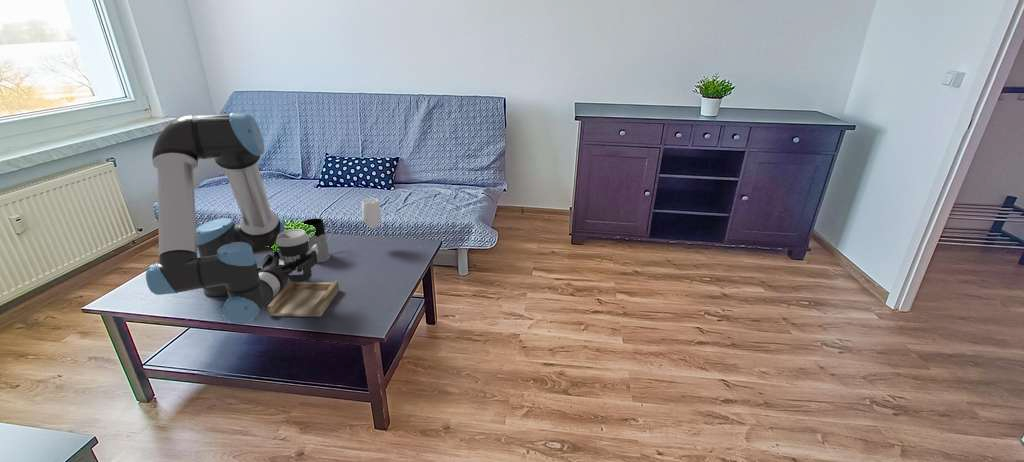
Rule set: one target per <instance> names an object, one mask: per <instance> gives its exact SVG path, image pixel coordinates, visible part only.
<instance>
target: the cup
mask: <svg viewBox="0 0 1024 462" xmlns="http://www.w3.org/2000/svg"><path fill="white" fill-rule="evenodd" d="M361 215H362V219H363V222H364V224H365V226H366V227H368V228H370V229H371V230H374V229H376V228H378V226H380V224H381V221H382V210H381V205H380V201H379V199H378V198H373V197H371V198H365V199H363V200H362V201H361Z"/></svg>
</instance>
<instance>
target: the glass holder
mask: <svg viewBox="0 0 1024 462" xmlns="http://www.w3.org/2000/svg"><path fill="white" fill-rule="evenodd" d="M328 220H330V223H331V228H330V229H331V230H330V234H329V237H328V239H327V235H326V230H327V228H326V222H327V221H328ZM302 223H304V224H308V225H313V226H314V227H315V228H316V232H315V234H314V235H313V237H312V238H311V239H310V241H309V250H310V249H311V248H312V247H313V246H314V245H315V244H317V247H318V253H317V262H318V263H323V262H325V261H327V260H329V259H330V258H331V254H330V251H329V246H328V244H329V242H330V240H331V238H332V236H333V232H334V222H333V219H332V218H330V217H326V218H325V219H324V220H323V219H321V218H309V219H306V220H304V221H302V222H301V224H302Z"/></svg>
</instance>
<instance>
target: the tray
mask: <svg viewBox="0 0 1024 462" xmlns="http://www.w3.org/2000/svg"><path fill="white" fill-rule="evenodd" d="M339 292H340V286H339V281H335V280H334V281H332V282H331V281H329V282H327V281H326V282H325V281H324V282H322V281H321V282H320V281H319V282H317V281H302V282H291V281H290V280H289V282H288V283H286V285H285V286H284V287H283V288H282V289H281V290H280V291H279V292H278V293H277V294H276V295H275V296H274V297H273V298H272V299H271V301H270V302H269V303H268V305H266V307H267V311H268V316H270V317H271V316H272V317H315V318H316V317H319V318H320V317H322V316H323V314H324V313H325V311H326V310H327V308H328V307H329V305H330V304H331V302H333V300H334V299H335V297H336V296H337V294H338V293H339Z"/></svg>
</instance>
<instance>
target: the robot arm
mask: <svg viewBox="0 0 1024 462" xmlns="http://www.w3.org/2000/svg"><path fill="white" fill-rule="evenodd" d="M262 136H263V135H262V132H261V129H260V127H259V125H258V122H257V121H256V119H255V117H253V116H252V115H251V114H249V113H237V112H231V113H227V114H225V113H224V114H222V113H221V114H200V115H194V114H193V115H190V114H189V115H184V116H182V117H178V118H177V119H174V120H173V121H171V122H170V123H168V125H166V126H165V128H164V129H163V130H162V131H161V133H159V135H158V136H157V139H156V141H155V143H154V145H153V149H152V166H153V167H154V168H155V169H157V203H158V205H157V207H158V209H157V211H158V213H157V214H158V217H157V218H158V258H159V259H158V262H155V263H153V264H150V265H148V266H147V268H146V271H145V279H146V284H147V288H148V289H149V291H150V292H151V293H152V294H154V295H157V296H160V295H161V296H162V295H171V294H178V293H184V292H189V291H194V290H199V289H203V293H204V294H205V295H206V296H208V297H209V296H210V297H226V296H228V298H227V299H226V301H224V303H223V305H222V310H221V311H222V314H223V316H224V318H225V319H226V320H227V321H229V322H231V323H233V324H236V325H245V324H248V323H249V322H251V321H252V320H253V319H255V317H257V316H258V315H260V312H261V311H263V309H264V308H265V307H267V306H268V305H269V304H270V302H271V301H272V300H273V299H274V298H275V297H276V296H277V295H278V294H279V293H280V292H281V291H282V290H283V289H284V288H285V286H286V285H287V284H288V283H287V282H288V280H290V279H289V278H290V277H292V276H293V275H298V277H302V276H303V275H304V273H305V272H307V271H308V270H309V269H310V268H311V269H312V268H313V267H314V266H316V265H317V264H318V263H319V262H317V253H318V247H317V244H315V245H314V246H313V247H312V248H311V249H310V250H309V251H308V252H307V253H306V256H304V257H302V258H300V259H298V260H296V261H294V262H289V263H287V264H280V262H281V261H283V258H282V255H281V252H280V251H275V252H273V251H274V250H273V249H272V248H271V247H272V246H273V245H274V243H275V242H276V239H277V235H278V234H280V233H281V232H284V231H286V229H285V228H286V227H285V218H284V217H281V216H278V214H277V213H276V212H275V211H273V210H271V206H270V202H269V198H268V197H267V193H266V189H265V186H264V181H263V179H262V174H261V172H260V168H259V165H258V162H259V161H260V160H261V155H263V154H264V153H265V144H264V143H265V142H264V139H263V137H262ZM211 159H214V161H215V163H216V165H217V166H218V167H219V168H222V169H224V170H225V174H226V177H227V180H228V182H229V185H230V187H231V190H232V192H233V193H232V194H233V195H234V198H235V201H236V204H237V206H238V209H239V212H240V215H241V218H240V220H239V222H235V221H234V219H233V218H230V217H221V218H216V219H214V220H210V221H207V222H205V223H202V224H201V225H199V226H198V227H197V217H196V216H197V215H196V199H195V198H196V194H195V175H194V174H195V173H194V172H195V171H196V170H197V169H198V166H199V160H211ZM265 246H266V247H265ZM267 246H269V247H267ZM198 253H199V257H198ZM264 254H267V255H266V256H265V257H264V258H263V259H262V261H261V262H260V263H259V265H258V264H257V258H256V257H255V256H256V255H257V256H258V255H264ZM272 254H273V255H272ZM283 262H284V261H283ZM267 304H268V305H267Z"/></svg>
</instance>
